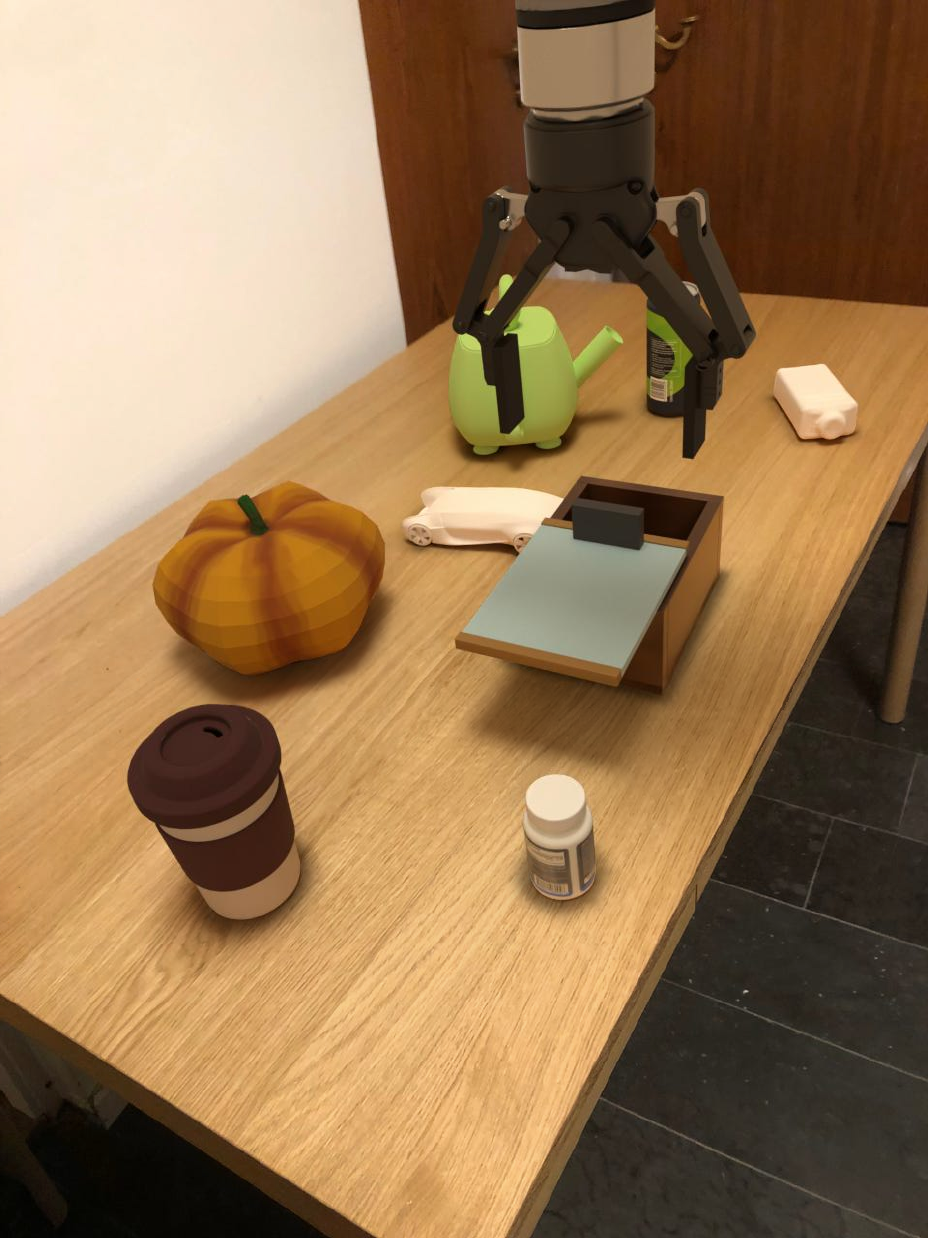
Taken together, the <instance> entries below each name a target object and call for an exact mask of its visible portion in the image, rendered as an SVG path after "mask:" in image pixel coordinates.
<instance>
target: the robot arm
mask: <svg viewBox="0 0 928 1238" xmlns="http://www.w3.org/2000/svg"><path fill="white" fill-rule="evenodd" d="M514 3H515V9H516V10H515V21H516V29H517V30H516V31H517V48H518V66H519V84H520V101H521V103H522V104H523V105H524V106H525V107H526V108H528V109H531V111H529V112H528V114H527V115H526V118H525V119H524V120H523V136H524V139H523V140H524V151H525V162H526V163H525V166H526V176H527V180H528V183H529V191H528V194H521V193H516V192H515V190H514V188H513V187H511V186H509V185H504V186H502V187H500V188H499V189H497V190H495V191H494V192H493V193H492V194H490V195H489V196H487V197H486V198H484V200H483V201H482V205H481V207H482V208H481V209H482V215H481V216H482V219H481V220H482V222H481V223H482V225H481V226H482V233H481V236H480V239H479V242H478V245H477V248H476V250H475V253H474V257H473V259H472V263H471V265H470V269H469V272H468V275H467V278H466V281H465V284H464V286H463V290H462V292H461V296H460V298H459V301H458V305H457V308H456V310H455V313H454V317H453V319H452V324H451V325H452V326H451V327H452V330H453V331H454V333H456V334H457V335H458V334H459V335H464V334H465V333H466V334H468V335H471V336H473V337H474V338H476V339H477V341H478V342H479V343H480V346H481V353H482V362H483V370H484V379H485V381H486V383H487V385H490V386H495V389H496V398H497V408H498V418H499V427H500V433H503V434H510V433H511V432H512V431H513V430H514V429H515V428H516V427H517V426H518V424H519V423H520V422H521V421H522V420H523V419H524V418H525V414H524V402H523V391H522V379H521V368H520V356H519V344H518V334H515V333H507V334H506V335H505V336H504V331H505V330H506V329H507V328H508V327H509V326H510V325H509V324H510V323H511V322H512V320H513V319H514V318H515V316H516V315H517V314H518V312H519V311H520V310H521V308H522V307H525V304H526V303H527V302H528V301H529V299H530V297H532V295H533V294H534V292H535V291H536V289H537V288H538V287H539V285H540V284H541V283H542V282H543V280H544V279H545V277H546V276H548V275H547V274H549V273H550V271H551V269H552V268H553V267H554V266H555V264H557V265H558V266H560V267H562V268H564V272H566V273H567V272H568V273H569V272H570V273H578V272H582V271H586V270H587V271H588V270H589V271H590V272H591V271H592V272H594V273H597V274H603V275H612V274H613V273H614V272H616V271H618V270H620V271H621V272H622V274H624V276H625V277H626V278H627V280H628V281H629V282H630V283H632V284H634V285H637V286H638V287H639V288H640V290H641V291H642V293H644V295H645V296H646V297H647V299H648V298H649V300H650V301H651V302H652V304H653V305H654V306H655V307H656V309H657V310H658V311H659V312H660V314H661V315H662V316H663V318H664V319H665V320H666V321H667V323H668V324H669V325H670V326H671V328H672V329H673V330H674V332H675V333H676V334H677V335H678V337H679V338H680V339H681V340H682V342H683V343H684V344H685V346H686V347H687V348H688V349H689V351H690V352H691V353H692V354H693V356H692V357H691V359H690V360H689V361H688V363H687V364H686V365H685V373H684V412H683V414H682V415H683V416H682V418H683V420H682V449H681V451H682V453H681V455H682V456H681V458H682V459H687V460H694V459H695V458H696V456H697V454H698V453H699V451H700V449H701V448H702V446H703V445H704V443H705V441H706V428H707V427H706V426H707V411H713V410H714V409H715V408H716V406H717V404H718V403H719V401H720V399H721V397H722V395H723V385H724V384H723V383H724V381H723V380H724V368H725V367H724V364H725V360H728V359H734V360H739V359H741V358H743V357H744V356H745V355H746V353H747V352H748V350H749V349H750V347H751V346H752V344H753V342H754V341H755V339H756V337H757V331H756V329H755V326H754V324H753V322H752V320H751V317H750V315H749V312H748V310H747V308H746V306H745V303H744V301H743V299H742V296H741V294H740V292H739V289H738V287H737V285H736V283H735V282H736V281H734V278H733V274H732V273H731V271H730V269H729V267H728V264H727V262H726V260H725V257H724V255H723V252H722V250H721V247H720V246H719V243H718V240H717V239H716V237H715V233H714V231H713V229H712V227H711V215H710V200H709V199H710V198H709V194H708V192H707V191H706V190H705V189H704V188H701V187H696V188H693V189H692V190H691V191H690V192H689V193H687V194H685V195H684V194H683V195H678V196H667V197H660V195H659V193H658V190H657V188H656V185H655V167H656V166H655V165H656V164H655V162H656V161H655V155H656V153H655V152H656V148H655V147H656V146H655V145H656V142H655V141H656V108H655V106H654V105H653V104H652V103H651V101H650V100H649V99H647V98H645V97H646V96H647V95H649V94H650V93H651V92H652V91H653V90H654V88H655V69H656V68H655V66H656V65H655V64H656V63H655V62H656V60H655V59H656V57H655V55H656V0H514ZM523 217H525V220H526V222H527V223H528V225H529V226H530V228H531V229H532V230H533V232H534V234H535V235H536V237H537V238H538V239H539V241H540V242H539V243H538V244H537V246H536V247H535V249H534V250H533V252H531V254H530V255H529V257H528V258H527V260H526V261H525V263H524V266H523V267H522V269H521V270H520V271H519V273H518V274H517V275H516V277H515V278H514V279H513V283H512V284H511V285H510V287H509V288H508V290H507V291H506V292H505V294H504V295H503V297H502V298H501V299H500V301H499V300H498V302H497V303H496V305H495V306H494V307H495V308H494V307H493V308H494V309H493V308H492V309H493V311H492V312H491V313H490V315H487V314H485V313H484V312H485V311H486V310H487V306H488V304H489V301H490V298H491V295H492V293H493V290H494V287H495V284H496V282H497V279H498V276H499V273H500V271H501V268H502V265H503V262H504V259H505V257H506V253H507V251H508V248H509V245H510V242H511V240H512V237H513V234H514V230H515V229H516V228H517V227H519V226H520V225H521V223H522V220H523ZM658 221H661V222H663V223H664V224H665V226H667V230H668V232H669V233H670V235H671V236H673V237H676V238H678V244H679V248H680V251H681V254H682V256H683V259H684V261H685V263H686V265H687V268H688V270H689V272H690V274H691V276H692V279H693V281H694V283H695V285H696V286H697V288H698V290H699V291H698V293H699V295H700V297H701V298H702V299H701V300H702V301H703V303H704V305H705V307H706V310H707V312H708V313H707V312H706V310H705V309H704V307H703V306H702V305H701V303H700V304H699V302H698V301H697V300H696V299H695V297H694V296H693V295H692V293H691V292H690V291H689V289H688V288H687V287H686V286H685V284H684V283H683V282H684V281H683V280H682V279H681V278H680V276H679V275H678V274H677V273H676V271H675V270H674V269H673V267H672V266H671V265H670V264H669V262H668V261H667V259H666V257H665V252H664V249H662V247H661V246H660V244H659V243H658V242H657V241H656V239H655V238H654V237H653V235H652V234H651V231H652V230H653V229H654V228H655V226H656V224H657V223H658ZM682 281H683V282H682Z"/></svg>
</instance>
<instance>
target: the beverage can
mask: <svg viewBox="0 0 928 1238" xmlns="http://www.w3.org/2000/svg"><path fill="white" fill-rule="evenodd" d="M682 282H683V283H684V284H685V286H686V287H687V288H688V289H689V291H690V292H691V293H692V295H693V296H694V297H695V299H696V300H697V301H698V302H699V304H700V305H701V300H702V299H701V298H702V297H701V294H700V292H699V290H698V288H697V285H696V283H695V284H694V282H693V283H692V282H689V281H683V280H682ZM692 356H693V354H692V353H691V352H690V351H689V349H688V348H687V347H686V346H685V344H684V343H683V342H682V340H681V339H680V338H679V337H678V335H677V334H676V333H675V332H674V330H673V329H672V328H671V326H670V325H669V324H668V323H667V321H666V320H665V319H664V318H663V316H662V315H661V314H660V312H659V311H658V310H657V309H656V307H655V306H654V305H653V304H652V302H651V301H650V300H649V298H648V297H647V299H646V367H645V369H646V375H645V376H646V382H645V383H646V384H645V385H646V395H645V396H646V405H647V407H648V408H649V409H650V410H651V411H652V412H653V413H654V414H657V415H659V416H663V417H678V416H682V415H683V412H684V373H685V365H686V364H687V363H688V361H689V360H690V359H691V357H692Z"/></svg>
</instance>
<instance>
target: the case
mask: <svg viewBox="0 0 928 1238" xmlns="http://www.w3.org/2000/svg"><path fill="white" fill-rule="evenodd" d="M576 498H581V499H587V500H593V501H600V502H606V503H613V504H619V505H626V506H632V507H639V508H644V534H648V535H654V536H660V537H666V538H672V539H678V540H684V541H689V552H688V553H687V555H686V557H685V559H684V561H683V563H682V565H681V567H680V569H679V570H678V572H677V574H676V576H675V578H674V580H673V582H672V584H671V586H670V588H669V589H668V591H667V593H666V595H665V597H664V599H663V601H662V603H661V605H660V606H659V608H658V610H657V612H656V614H655V616H654V618H653V620H652V622H651V623H650V625H649V627H648V629H647V631H646V633H645V635H644V637H643V639H642V640H641V642H640V644H639V646H638V648H637V650H636V652H635V654H634V656H633V658H632V659H631V661H630V663H629V665H628V667H627V669H626V671H625V673H624V675H623V676H622V678H621V680H620V682H619V684H618V686H623V687H628V688H632V689H636V690H640V691H644V692H649V693H652V694H657V695H661V696H663V695H664V692H665V690H666V689H667V687H668V684H669V682H670V680H671V677H672V676H673V674H674V671H675V670H676V667H677V665H678V664H679V661H680V659H681V657H682V655H683V653H684V650H685V649H686V646H687V645H688V642H689V640H690V638H691V636H692V633H693V632H694V629H695V627H696V625H697V623H698V621H699V620H700V617H701V615H702V612H703V611H704V609H705V606H706V604H707V602H708V600H709V598H710V597H711V596H710V595H711V594H712V591H713V590H714V588H715V585H716V584H717V581H718V579H719V577H720V571H721V554H722V536H723V521H724V520H723V519H724V503H725V496H723V495H719V494H712V493H704V492H698V491H690V490H685V489H684V490H683V489H676V488H669V487H662V486H655V485H649V484H643V483H642V484H641V483H634V482H627V481H620V480H615V479H614V480H613V479H606V478H601V477H592V476H586V475H580V476H579V478H578V479H577V480H576V482H575V483H574V485H573V486H572V487H571V489H570V490H569V491H568V493H567V494H566V496H565V497H564V498H563V499H564V500H563V501H562V502H561V504H560V505H559V506H558V508H557V509H556V511H555V512H554V513H553V515H552V516H551V517H550V518H552V519H558V520H564V521H570V522H572V507H571V505H572V503H573V502H574V501H575V499H576Z"/></svg>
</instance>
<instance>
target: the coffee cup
mask: <svg viewBox="0 0 928 1238" xmlns="http://www.w3.org/2000/svg"><path fill="white" fill-rule="evenodd" d="M128 765H129V766H128V768H127V773H126V774H127V775H126V783H127V788H128V791H129V794H130V796H131V798H132V800H133V801H134V804H135V806H136V808H137V809H138V811H139V813H140V814H142V815H143V816H144V817H145V818H146V819H147V820H149V821H151V822H152V823H154V826H155V828H156V829H157V831H158V832H159V834H160V836H161V838H162V839H163V840H164V842H165V844H166V846H167V847H168V849H169V850H170V852H171V854H172V855H173V857H174V858H175V860H176V861H177V863H178V865H179V866H180V868H181V869H182V872H183V873H184V874H185V876H186V877H187V878H188V879H189V880H190V881H191V882H192V883H193V884H194V885H195V886H196V888H197V889H198V891H199V893H200V895H201V896H202V897H203V899H204V901H205V902H206V904H207V905H208V907H209V908H210V909H211V910H212V911H214V912H215V913H216V914H217V915H218V916H219V915H220V916H222V917H224V918H228V919H231V920H250V919H251V920H252V919H255V918H259V917H261V916H264V915H266V914H268V913H270V912H273V911H275V910H276V909H277V908H278V907H279V906H281V905H282V904H283V903H285V901H287V899H288V898H289V897H290V896H291V895H292V893H293V891H294V890H295V889H296V886H297V885H298V882H299V880H300V874H301V860H300V856H299V852H298V847H297V843H296V839H295V836H296V835H295V834H296V831H295V823H294V818H293V814H292V810H291V807H290V806H291V805H290V803H289V797H288V793H287V789H286V786H285V781H284V777H283V773H282V770H281V765H282V746H281V743H280V740H279V737H278V734H277V731H276V729H275V726H274V725H273V723H272V722H271V721H270V720H269V718H267V717H266V716H265V715H263V714H262V713H261V712H259V711H257V710H256V709H254V708H250V707H247V706H244V705H239V704H224V703H223V704H221V703H205V704H198V705H194V706H189V707H187V708H185V709H182V710H180V711H177V712H176V713H174V714H172V715H170V716H169V717H167V718H165V720H163V721H161V722H160V723H159V724H158V725H157V726H156V727H155V729H153V731H152V732H151V733H150V734H149V735H148V736H147V737H146V738H144V740H143V741H142V742H141V744H139V746H138V747H137V748H136V750H135V752H134V753H133V755H132V757H131V759H130V762H129V764H128Z"/></svg>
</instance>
